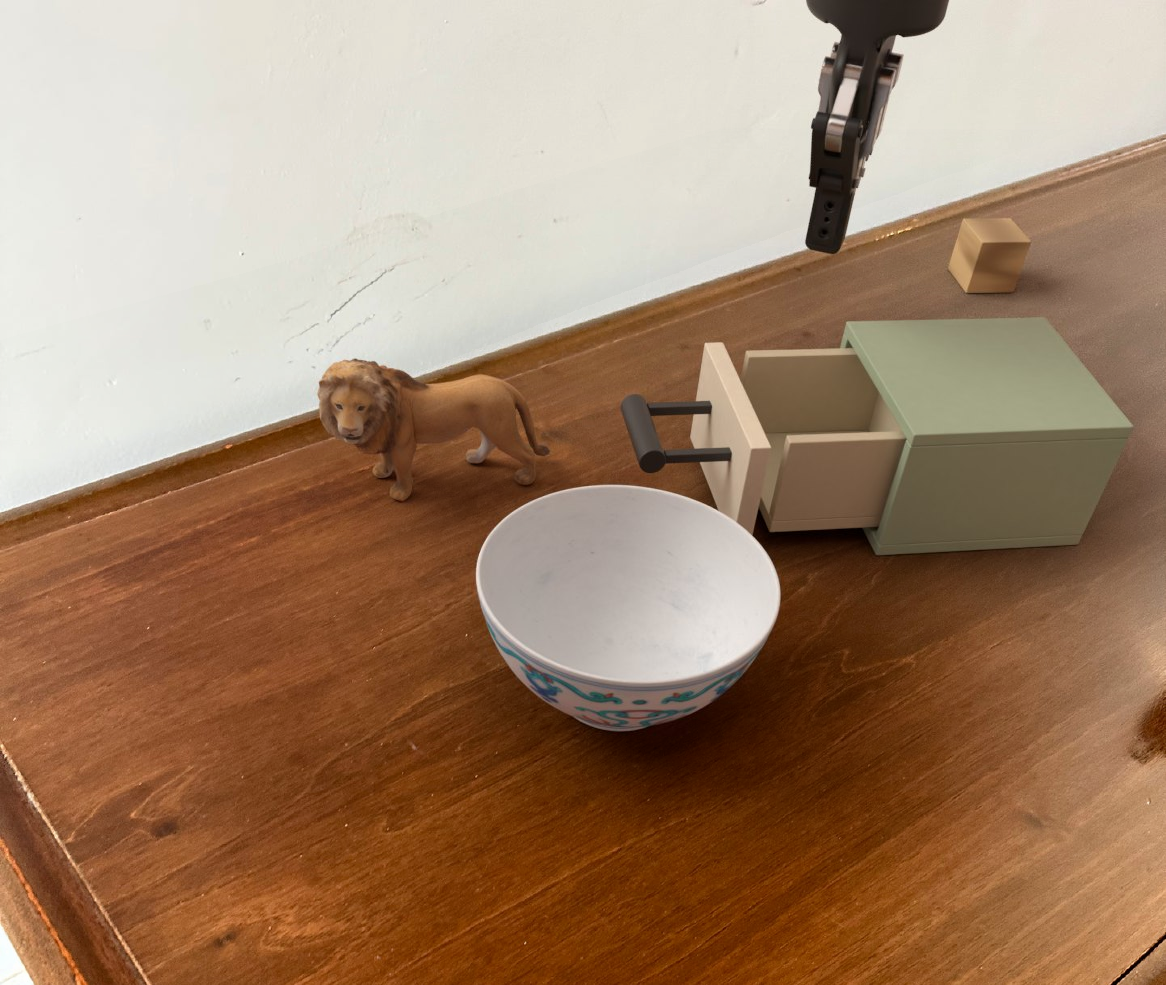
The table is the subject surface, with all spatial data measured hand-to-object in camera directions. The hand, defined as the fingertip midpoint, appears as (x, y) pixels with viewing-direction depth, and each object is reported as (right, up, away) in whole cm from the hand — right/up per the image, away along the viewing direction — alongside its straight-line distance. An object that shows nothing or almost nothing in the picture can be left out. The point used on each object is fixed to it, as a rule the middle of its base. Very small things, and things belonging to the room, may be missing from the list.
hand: (823, 246), depth 74 cm
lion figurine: (-24, -15, +1) cm, 28 cm away
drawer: (-4, -15, +2) cm, 15 cm away
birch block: (+18, +8, +25) cm, 31 cm away
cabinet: (+9, -14, +5) cm, 17 cm away
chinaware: (-13, -28, -9) cm, 33 cm away
